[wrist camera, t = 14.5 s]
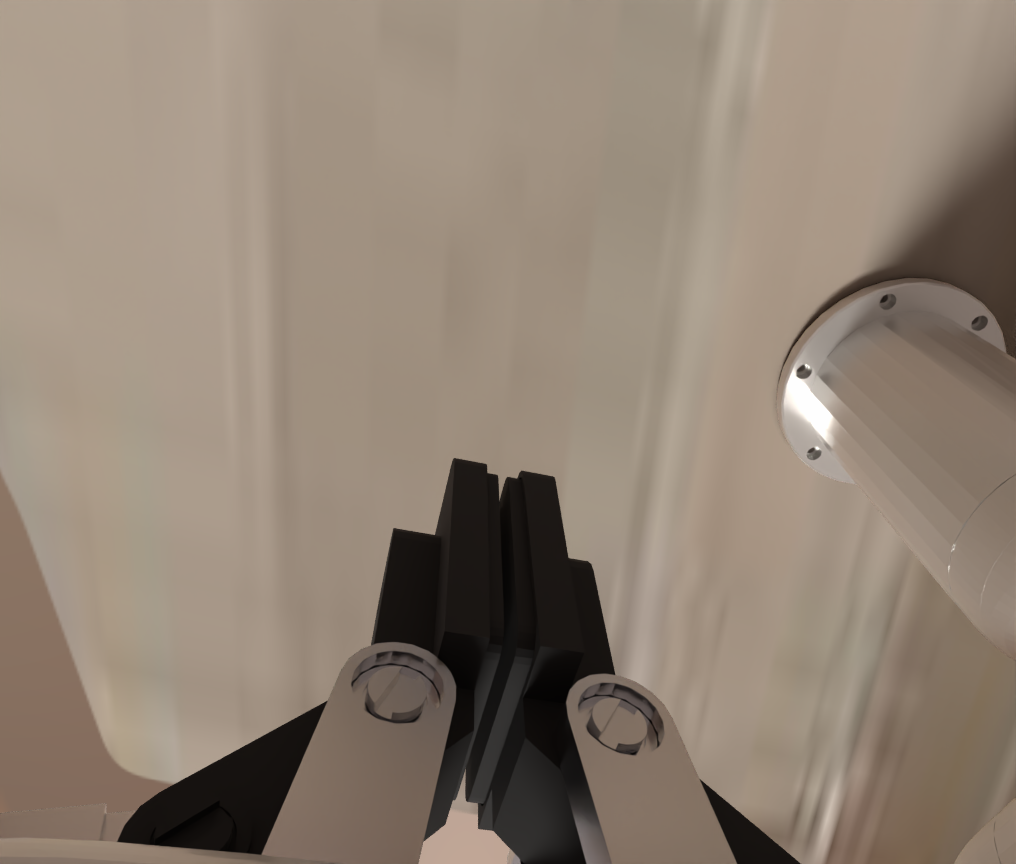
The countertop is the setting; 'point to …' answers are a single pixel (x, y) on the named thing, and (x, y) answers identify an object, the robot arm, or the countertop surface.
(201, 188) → the countertop surface
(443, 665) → the robot arm
